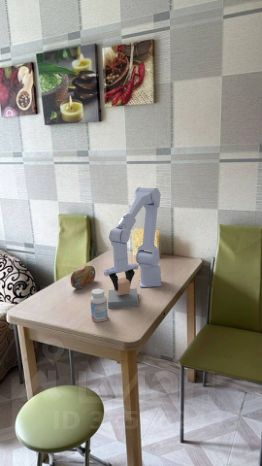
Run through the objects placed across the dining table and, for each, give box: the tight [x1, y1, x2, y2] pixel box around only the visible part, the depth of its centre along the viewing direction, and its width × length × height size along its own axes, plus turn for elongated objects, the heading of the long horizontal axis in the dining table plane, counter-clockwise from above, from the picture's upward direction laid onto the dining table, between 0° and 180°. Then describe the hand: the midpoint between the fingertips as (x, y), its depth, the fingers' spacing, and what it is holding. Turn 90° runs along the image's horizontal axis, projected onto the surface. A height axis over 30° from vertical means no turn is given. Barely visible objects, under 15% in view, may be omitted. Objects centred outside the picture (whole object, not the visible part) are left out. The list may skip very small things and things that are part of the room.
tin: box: [70, 265, 96, 290], centre depth 164 cm, size 15×3×8 cm, turn 147°
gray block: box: [107, 288, 139, 309], centre depth 147 cm, size 12×12×3 cm
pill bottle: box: [89, 288, 109, 323], centre depth 132 cm, size 6×6×11 cm
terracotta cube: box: [113, 276, 131, 295], centre depth 146 cm, size 5×5×5 cm
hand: (122, 288), depth 146 cm, fingers closed on terracotta cube, 5 cm apart
